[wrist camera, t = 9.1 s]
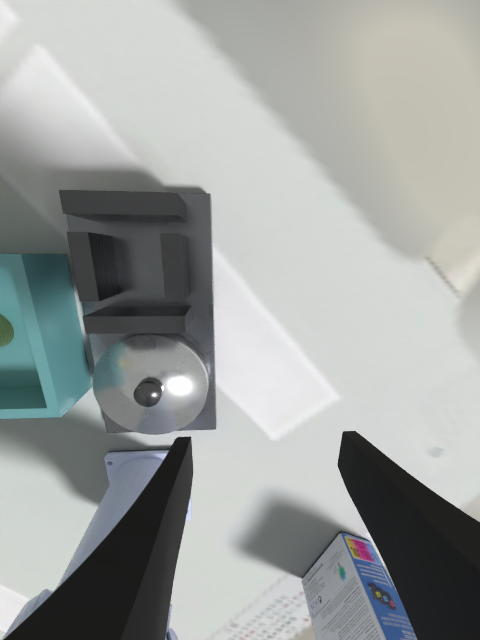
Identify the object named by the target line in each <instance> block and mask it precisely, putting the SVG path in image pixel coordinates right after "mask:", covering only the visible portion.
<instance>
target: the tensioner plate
mask: <svg viewBox="0 0 480 640" xmlns="http://www.w3.org/2000/svg"><path fill="white" fill-rule="evenodd" d="M59 193H60V198H61V204H62V209H63V213H64V214H67V219H68V225H69V230H70V232H67V236H68V241H69V246H70V252H71V257H72V262H73V268H74V273H75V278H76V284H77V289H78V294H79V299H80V302H83V306H84V311H85V316H83V321H84V326H85V331H86V334H89V338H90V344H91V349H92V355H93V360H94V365H95V369H94V373H93V391H94V394H95V397H96V400H97V402H98V404H99V405H100V407H101V409H102V410H103V414H104V420H105V425H106V430H107V433H120V432H138V433H142V434H165V433H170V432H173V431H181V430H212V429H216V383H215V340H214V297H213V255H212V212H211V195H210V194H205V193H163V192H122V191H80V190H59Z"/></svg>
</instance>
